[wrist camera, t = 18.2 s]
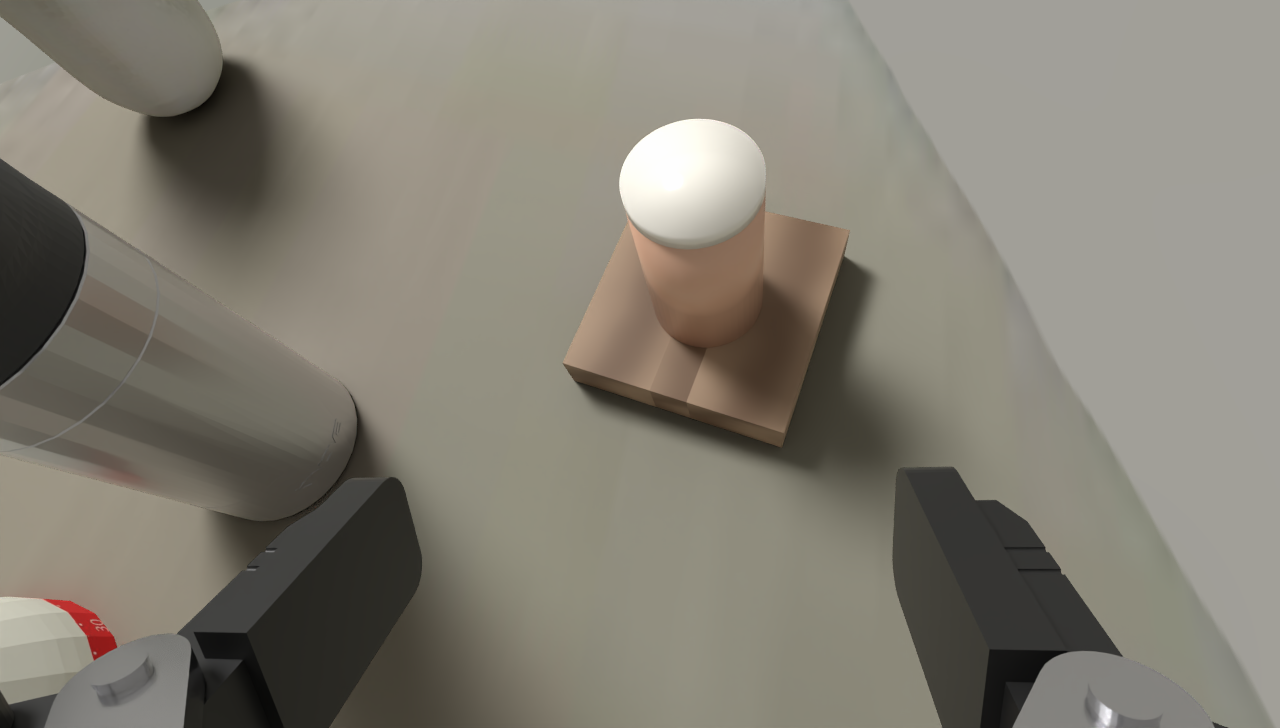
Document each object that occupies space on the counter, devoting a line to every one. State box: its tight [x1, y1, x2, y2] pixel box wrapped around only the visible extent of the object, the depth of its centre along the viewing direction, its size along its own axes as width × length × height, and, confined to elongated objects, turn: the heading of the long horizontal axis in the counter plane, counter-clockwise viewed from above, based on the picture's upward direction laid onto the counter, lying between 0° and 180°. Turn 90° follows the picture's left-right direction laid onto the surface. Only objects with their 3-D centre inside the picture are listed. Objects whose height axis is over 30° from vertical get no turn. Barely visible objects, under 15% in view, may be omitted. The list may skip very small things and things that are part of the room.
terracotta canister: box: [619, 119, 766, 348], centre depth 31 cm, size 6×6×10 cm
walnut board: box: [563, 212, 850, 448], centre depth 36 cm, size 12×12×2 cm
